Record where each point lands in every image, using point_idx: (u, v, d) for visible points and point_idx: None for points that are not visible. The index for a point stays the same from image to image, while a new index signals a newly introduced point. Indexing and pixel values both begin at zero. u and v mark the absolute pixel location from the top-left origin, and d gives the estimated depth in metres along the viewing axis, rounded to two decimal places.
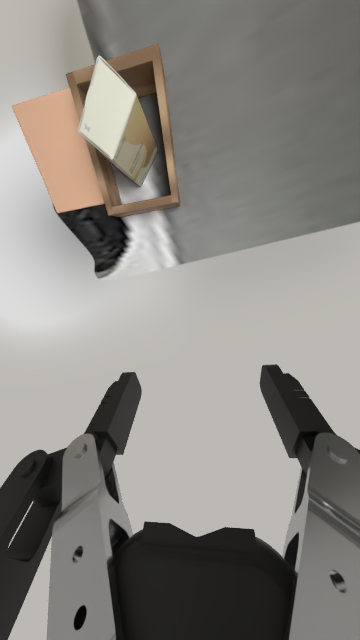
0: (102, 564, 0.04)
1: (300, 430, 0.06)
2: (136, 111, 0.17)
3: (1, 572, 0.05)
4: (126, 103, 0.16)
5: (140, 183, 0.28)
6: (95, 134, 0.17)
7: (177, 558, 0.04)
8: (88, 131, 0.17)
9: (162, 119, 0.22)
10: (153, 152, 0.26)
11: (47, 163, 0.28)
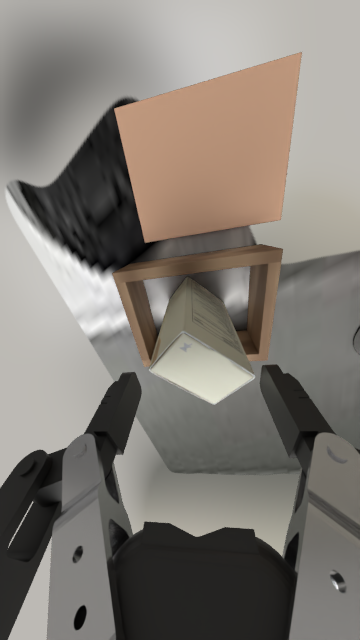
0: (102, 564, 0.04)
1: (300, 430, 0.06)
2: None
3: (1, 572, 0.05)
4: (206, 395, 0.12)
5: None
6: (177, 356, 0.10)
7: (177, 558, 0.04)
8: (181, 348, 0.10)
9: None
10: None
11: (202, 122, 0.13)
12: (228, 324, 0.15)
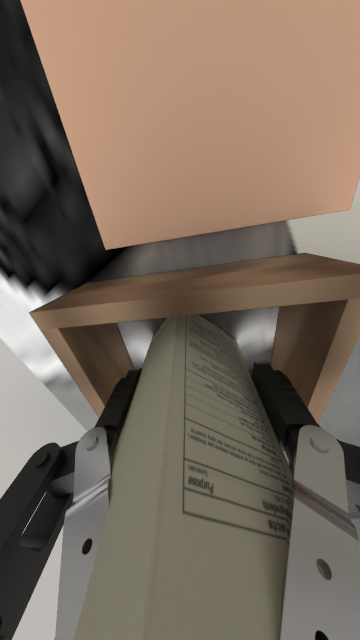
0: None
1: (286, 423, 0.06)
2: None
3: (14, 560, 0.05)
4: None
5: None
6: None
7: None
8: None
9: None
10: None
11: None
12: (256, 410, 0.08)
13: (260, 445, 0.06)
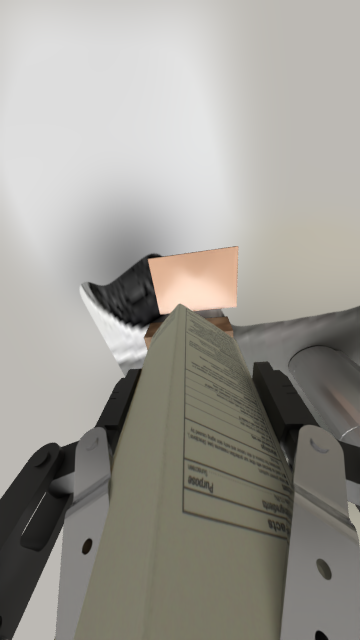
0: None
1: (286, 423, 0.06)
2: None
3: (14, 560, 0.05)
4: None
5: None
6: None
7: None
8: None
9: None
10: None
11: (192, 266, 0.26)
12: (256, 410, 0.08)
13: (260, 445, 0.06)
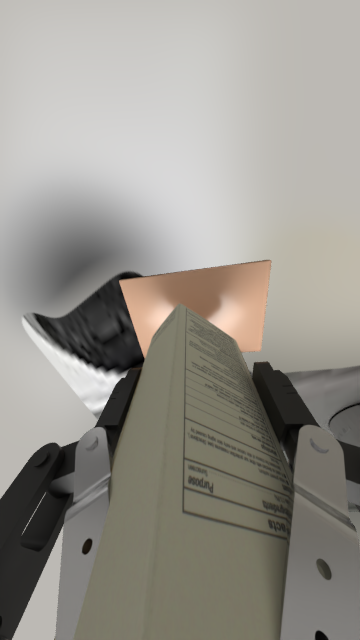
0: None
1: (286, 423, 0.06)
2: None
3: (14, 560, 0.05)
4: None
5: None
6: None
7: None
8: None
9: None
10: None
11: (192, 293, 0.16)
12: (256, 410, 0.08)
13: (260, 445, 0.06)
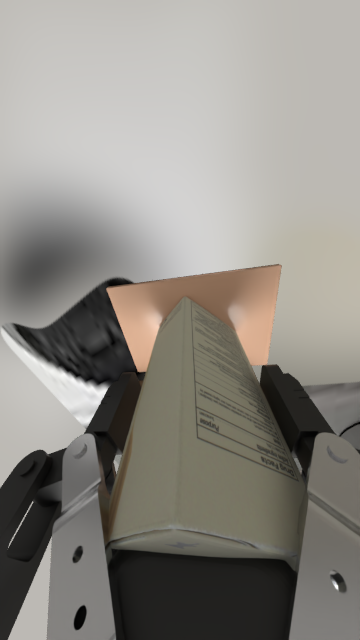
0: (102, 564, 0.04)
1: (300, 430, 0.06)
2: None
3: (1, 572, 0.05)
4: None
5: None
6: (162, 548, 0.04)
7: (177, 558, 0.04)
8: (169, 545, 0.04)
9: None
10: None
11: None
12: (253, 386, 0.09)
13: (256, 410, 0.08)
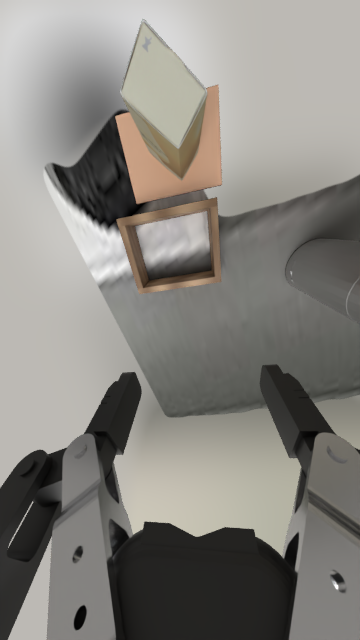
0: (102, 564, 0.04)
1: (300, 430, 0.06)
2: (172, 148, 0.16)
3: (1, 572, 0.05)
4: (171, 131, 0.14)
5: (149, 151, 0.23)
6: (141, 61, 0.12)
7: (177, 558, 0.04)
8: (143, 46, 0.12)
9: (187, 282, 0.29)
10: (175, 174, 0.24)
11: None
12: None
13: None
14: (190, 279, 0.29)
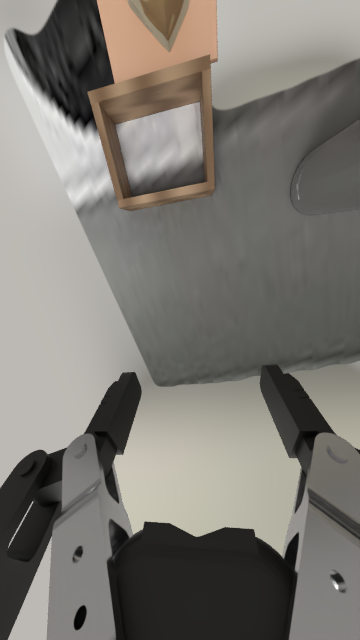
0: (102, 564, 0.04)
1: (300, 430, 0.06)
2: None
3: (1, 572, 0.05)
4: None
5: (128, 0, 0.19)
6: None
7: (177, 558, 0.04)
8: None
9: (174, 190, 0.24)
10: (161, 35, 0.19)
11: None
12: None
13: None
14: None
